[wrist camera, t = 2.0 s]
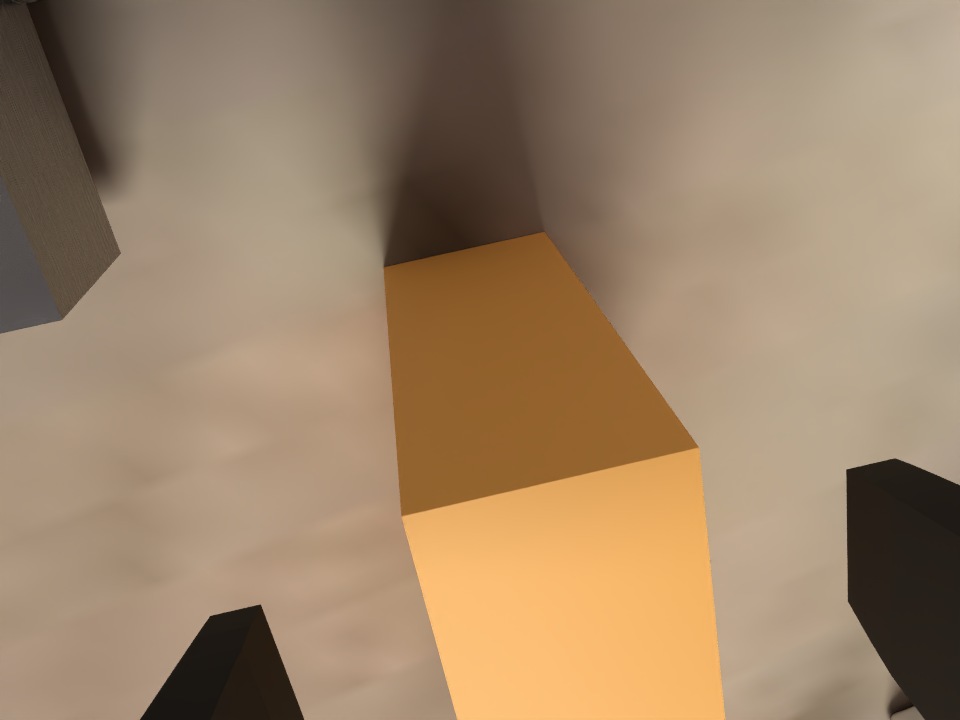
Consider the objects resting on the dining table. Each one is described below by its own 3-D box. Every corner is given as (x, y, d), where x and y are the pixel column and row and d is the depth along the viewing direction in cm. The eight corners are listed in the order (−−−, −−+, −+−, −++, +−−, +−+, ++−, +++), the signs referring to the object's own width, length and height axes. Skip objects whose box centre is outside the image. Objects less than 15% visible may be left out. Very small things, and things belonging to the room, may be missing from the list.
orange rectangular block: (582, 462, 18) (731, 792, 11) (440, 495, 18) (493, 851, 11) (544, 231, 16) (698, 448, 9) (383, 267, 16) (402, 517, 8)
